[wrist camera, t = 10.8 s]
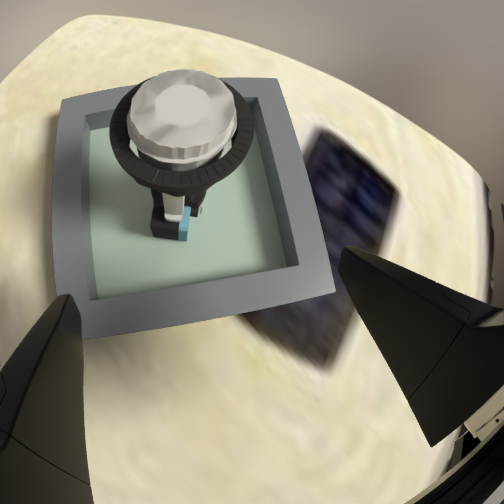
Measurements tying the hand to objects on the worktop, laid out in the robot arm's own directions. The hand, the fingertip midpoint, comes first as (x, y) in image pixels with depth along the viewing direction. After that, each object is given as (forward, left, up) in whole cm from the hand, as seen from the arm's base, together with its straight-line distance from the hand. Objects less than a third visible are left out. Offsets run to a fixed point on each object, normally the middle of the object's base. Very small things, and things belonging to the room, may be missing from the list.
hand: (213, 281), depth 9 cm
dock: (+4, -5, -10) cm, 12 cm away
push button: (+4, -5, -9) cm, 11 cm away
